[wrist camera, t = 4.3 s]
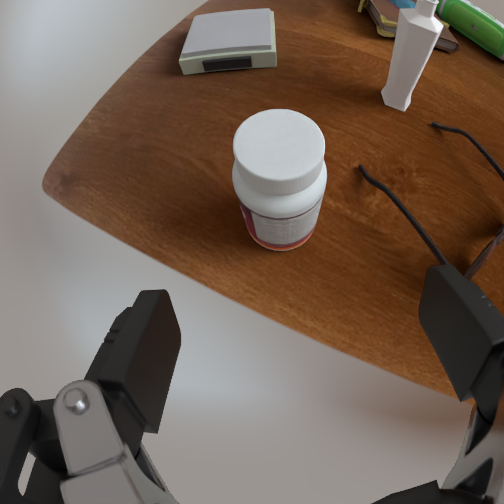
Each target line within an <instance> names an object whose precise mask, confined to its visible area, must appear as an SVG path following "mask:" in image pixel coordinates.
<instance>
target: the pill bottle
mask: <svg viewBox="0 0 504 504" xmlns="http://www.w3.org/2000/svg"><path fill="white" fill-rule="evenodd" d="M233 152H234V156H235V162H234V165H233V171H232V179H233V184H234V189H235V192H236V195H237V197H238V200H239V203H240V207H241V210H242V213H243V217H244V220H245V223H246V226H247V229H248V231H249V233H250V235H251V236H252V238H253V239H254V240H255V241H256V242H257V243H259V244H260V245H261V246H263V247H265V248H268V249H271V250H275V251H287V250H291V249H294V248H296V247H299V246H300V245H302V244H303V243H304V242H306V241H307V240H308V238H309V237H310V236H311V234H312V233H313V230H314V228H315V225H316V222H317V218H318V214H319V210H320V206H321V202H322V198H323V194H324V191H325V187H326V181H327V170H326V165H325V162H324V152H325V140H324V136H323V134H322V132H321V130H320V129H319V127H318V126H317V125H316V124H315V123H314V122H313V121H312V120H311V119H310V118H308V117H306V116H305V115H303V114H301V113H298V112H295V111H291V110H286V109H271V110H266V111H262V112H259V113H257V114H255V115H253V116H251V117H249V118H248V119H247V120H245V121H244V122H243V123H242V124H241V125H240V127H239V128H238V129H237V131H236V133H235V136H234V140H233Z"/></svg>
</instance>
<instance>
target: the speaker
mask: <svg viewBox="0 0 504 504" xmlns="http://www.w3.org/2000/svg"><path fill="white" fill-rule="evenodd" d="M438 1H439V3H438V4H437V6H436V9H435V12H434V13H435V14H436V15H437V16H438V17H439V18H441V19H442V20H443V21H445V22H446V23H448V24H449V25H451V26H452V27H453V28H454V29H456V30H457V31H459V32H460V33H462V34H463V35H465V36H466V37H468V38H469V39H471V40H472V41H474V42H475V43H476V44H478V45H479V46H481V47H482V48H484V49H485V50H486V51H488V52H490V53H492V54H493V55H495V56H497V57H498V58H499V59H501V60H503V61H504V25H503V24H502V23H500V22H499V21H498V20H496V19H495V18H493V17H492V16H490V15H489V14H487V13H486V12H484V11H483V10H481V9H480V8H478V7H476V6H475V5H473V4H472V3H470V2H468V1H467V0H438Z"/></svg>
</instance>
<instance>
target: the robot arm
mask: <svg viewBox="0 0 504 504" xmlns="http://www.w3.org/2000/svg"><path fill="white" fill-rule="evenodd" d="M419 320H420V323H421V326H422V327H423V329H424V331H425V333H426V335H427V336H428V338H429V340H430V342H431V344H432V346H433V348H434V349H435V351H436V353H437V355H438V357H439V359H440V361H441V363H442V365H443V367H444V369H445V371H446V373H447V375H448V377H449V379H450V381H451V383H452V385H453V387H454V390H455V392H456V394H457V396H458V398H459V400H460V402H462V401H465V400H467V399H470V398H473V397H474V399H475V401H476V403H475V404H474V406H473V408H472V411H471V415H470V420H469V423H468V427H467V430H466V434H465V437H464V441H463V444H462V447H461V450H460V453H459V457H458V459H457V461H456V463H455V465H454V467H453V468H452V470H451V471H450V473H449V474H448V476H447V477H446V479H445V481H444V483H443V485H442V487H441V489H439V487H438V483H437V480H435V481H432V482H429V483H426V484H423V485H420V486H417V487H414V488H411V489H407V490H404V491H400V492H397V493H393V494H390V495H388V496H386V497H385V498H382V499H380V500H378V501H376V502H374V503H372V504H504V317H503V316H502V314H501V313H500V312H499V310H498V309H497V308H496V307H495V306H493V303H492V302H491V301H490V300H489V298H486V295H485V294H484V292H483V291H482V290H481V289H480V288H479V287H478V285H476V284H474V283H473V282H471V281H470V280H468V279H467V278H465V277H463V275H462V274H461V273H460V272H459V271H458V270H457V269H456V268H455V266H453V265H452V264H445V265H438V266H431V267H429V269H428V271H427V274H426V278H425V283H424V288H423V292H422V296H421V301H420V305H419ZM180 346H181V332H180V328H179V324H178V321H177V318H176V315H175V312H174V309H173V306H172V303H171V299H170V296H169V294H168V292H167V291H166V290H165V289H162V290H143V291H141V292H140V293H139V295H138V297H137V299H136V301H135V302H134V304H133V306H132V307H127V308H126V309H125V310H124V311H123V312H122V313H121V314H120V315H118V316H117V317H116V319H115V321H114V322H113V324H112V326H111V328H110V332H108V333H107V336H106V337H105V339H104V343H102V345H101V347H100V348H99V350H98V352H97V354H96V356H95V358H94V360H93V362H92V364H91V366H90V368H89V370H88V372H87V374H86V376H85V378H84V380H78V381H74V382H72V383H69V384H68V385H66V386H65V387H64V388H63V389H62V390H60V392H59V393H58V394H57V396H56V398H55V399H49V400H41V401H34V400H33V399H32V397H31V396H30V395H29V394H28V393H27V392H26V391H25V390H24V389H21V388H14V389H11V390H9V391H7V392H6V393H4V394H3V395H2V396H1V398H0V504H179V503H178V502H177V501H176V499H175V498H174V497H173V495H172V494H171V493H170V491H169V490H168V488H167V486H166V485H165V483H164V481H163V480H162V478H161V476H160V475H159V473H158V471H157V470H156V468H155V466H154V464H153V462H152V460H151V459H150V457H149V455H148V453H147V451H146V449H145V447H144V445H143V444H142V442H141V440H142V436H143V432H148V433H158V430H159V426H160V422H161V418H162V414H163V410H164V406H165V402H166V398H167V394H168V391H169V386H170V383H171V379H172V376H173V372H174V368H175V364H176V361H177V357H178V354H179V350H180ZM28 452H29V453H31V454H32V455H33V456H34V457H35V458H36V460H35V462H34V466H33V468H32V472H31V475H30V478H29V481H28V485H27V488H26V491H25V494H24V495H23V496H22V495H21V494H20V492H19V489H18V480H19V477H20V474H21V471H22V468H23V465H24V462H25V459H26V456H27V453H28Z"/></svg>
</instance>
